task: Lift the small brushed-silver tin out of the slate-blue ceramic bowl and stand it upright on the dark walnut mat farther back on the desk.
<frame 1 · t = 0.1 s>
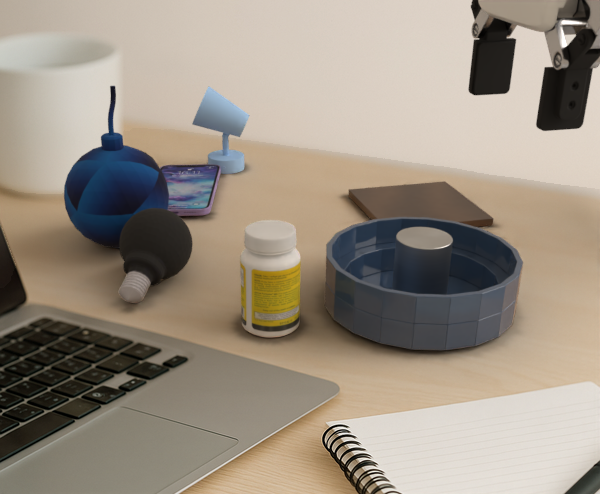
hand: (521, 109, 59), 18 cm above the table, tool pointing down, fingers open, 9 cm apart
mat: (417, 210, 91), on the table
bomb: (122, 243, 82), on the table
supplement bottle: (270, 326, 67), on the table
tin: (418, 302, 70), resting on bowl
spotlight: (222, 169, 103), on the table
bowl: (418, 306, 71), on the table
smartphone: (184, 194, 94), on the table
light bulb: (156, 284, 74), on the table
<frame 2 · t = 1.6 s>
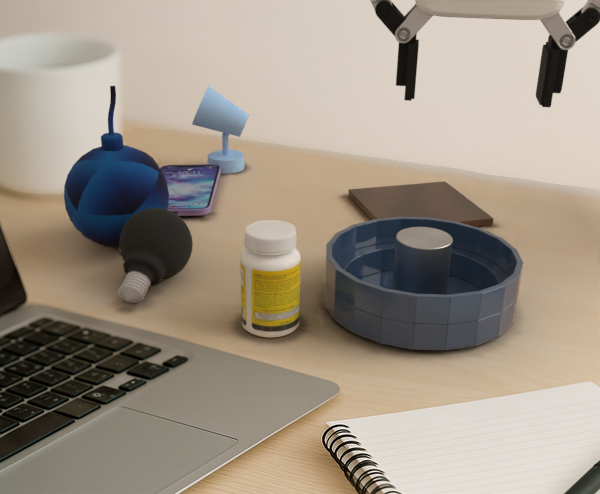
hand: (475, 99, 60), 18 cm above the table, tool pointing down, fingers open, 9 cm apart
nothing on the table moved.
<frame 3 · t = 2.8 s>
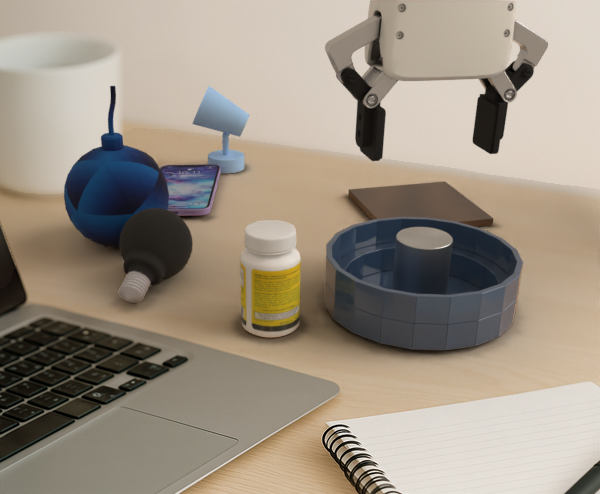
hand: (428, 152, 64), 14 cm above the table, tool pointing down, fingers open, 9 cm apart
nothing on the table moved.
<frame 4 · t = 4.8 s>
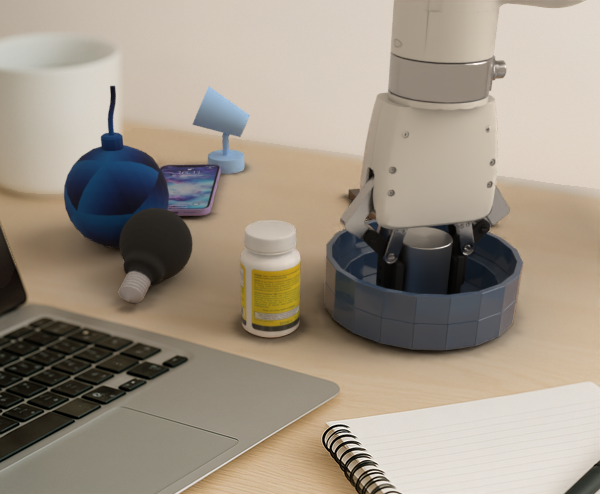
hand: (419, 294, 70), 1 cm above the table, tool pointing down, fingers closed on tin, 4 cm apart
tin: (418, 302, 70), resting on bowl, touching gripper
everything else where it was.
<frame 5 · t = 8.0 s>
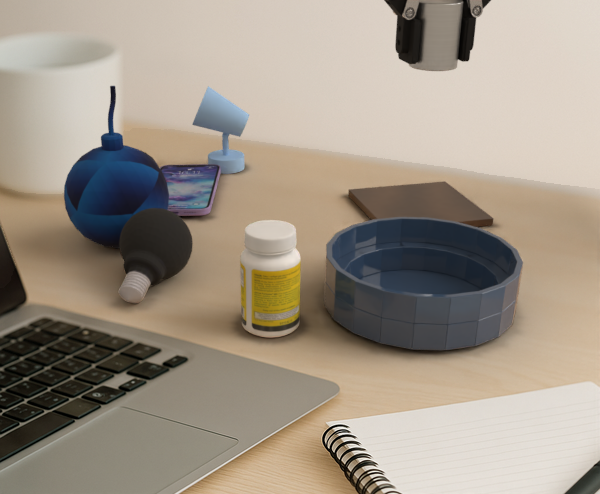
hand: (433, 58, 79), 17 cm above the table, tool pointing down, fingers closed on tin, 4 cm apart
tin: (432, 66, 79), point 16 cm above the table, touching gripper
everything else where it was.
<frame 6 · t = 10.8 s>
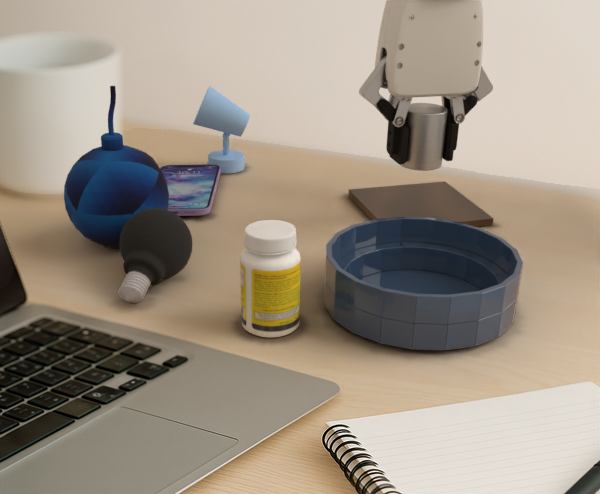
hand: (420, 157, 88), 6 cm above the table, tool pointing down, fingers closed on tin, 4 cm apart
tin: (419, 163, 88), point 5 cm above the table, touching gripper
everything else where it was.
when the fingers open (2 cm above the table, at t = 12.3 s): tin stays where it is, resting on mat.
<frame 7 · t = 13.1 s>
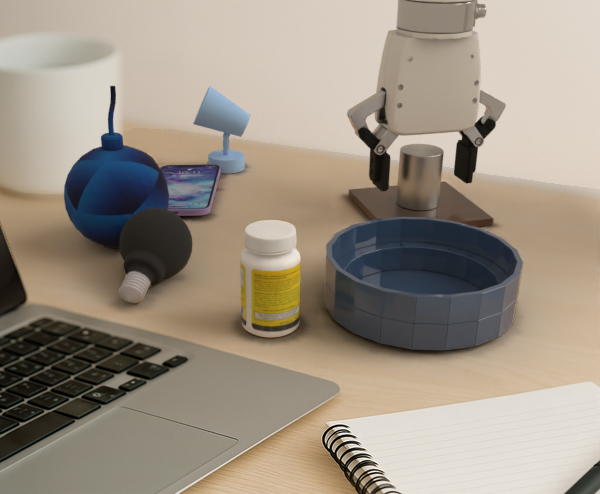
hand: (421, 183, 89), 3 cm above the table, tool pointing down, fingers open, 9 cm apart
tin: (417, 203, 90), point 1 cm above the table, touching mat
everything else where it was.
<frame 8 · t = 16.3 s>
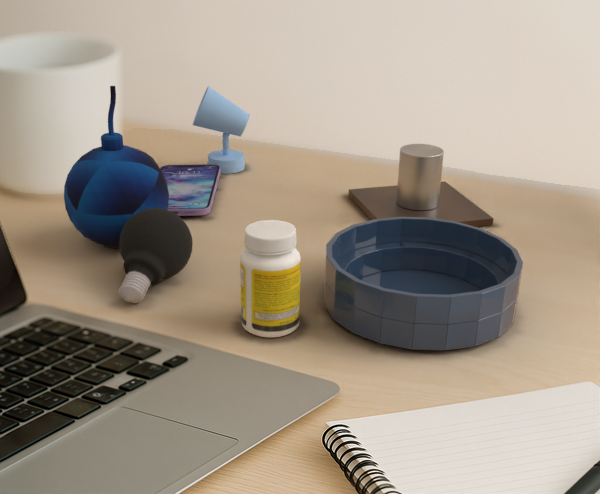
nothing on the table moved.
at the end: tin inside the target area on the mat (0.1 cm from its centre), point 0.8 cm above the mat's base; tin tilted 0°; tin touching mat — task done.
